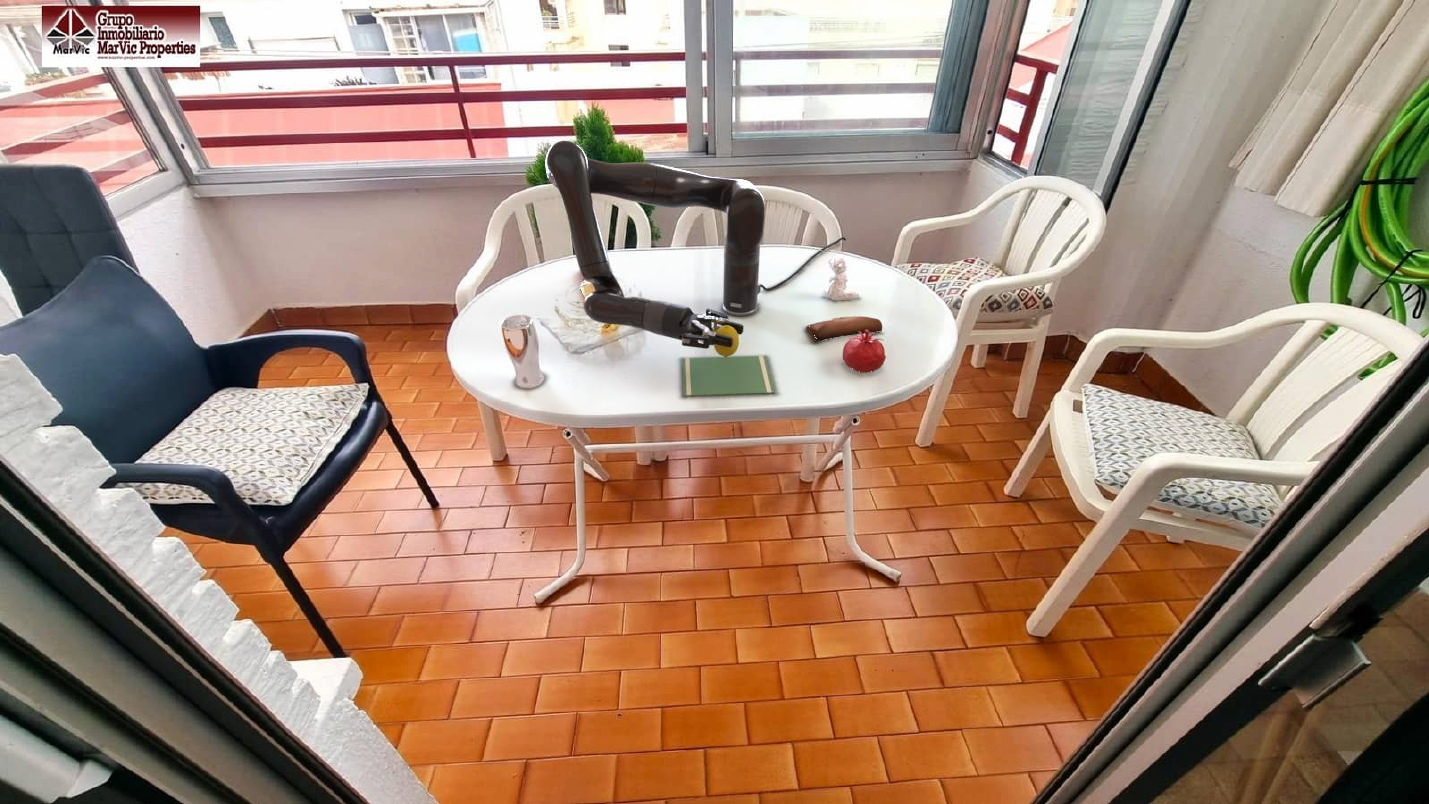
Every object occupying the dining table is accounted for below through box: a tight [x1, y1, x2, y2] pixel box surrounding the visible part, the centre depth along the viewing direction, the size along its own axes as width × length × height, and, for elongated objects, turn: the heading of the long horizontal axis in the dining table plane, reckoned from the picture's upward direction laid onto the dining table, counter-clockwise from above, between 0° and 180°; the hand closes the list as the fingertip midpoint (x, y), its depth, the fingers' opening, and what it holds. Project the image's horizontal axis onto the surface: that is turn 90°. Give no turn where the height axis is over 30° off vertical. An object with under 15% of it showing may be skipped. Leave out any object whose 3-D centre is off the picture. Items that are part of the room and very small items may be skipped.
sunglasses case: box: [805, 315, 883, 343], centre depth 147 cm, size 18×7×7 cm
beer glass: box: [500, 314, 545, 389], centre depth 125 cm, size 7×7×15 cm
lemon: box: [713, 325, 740, 357], centre depth 126 cm, size 6×6×8 cm
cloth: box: [681, 355, 776, 398], centre depth 132 cm, size 15×20×1 cm
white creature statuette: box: [823, 255, 860, 301], centre depth 161 cm, size 10×9×12 cm
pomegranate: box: [842, 330, 887, 374], centre depth 132 cm, size 10×10×9 cm
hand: (737, 336), depth 124 cm, fingers closed on lemon, 5 cm apart
